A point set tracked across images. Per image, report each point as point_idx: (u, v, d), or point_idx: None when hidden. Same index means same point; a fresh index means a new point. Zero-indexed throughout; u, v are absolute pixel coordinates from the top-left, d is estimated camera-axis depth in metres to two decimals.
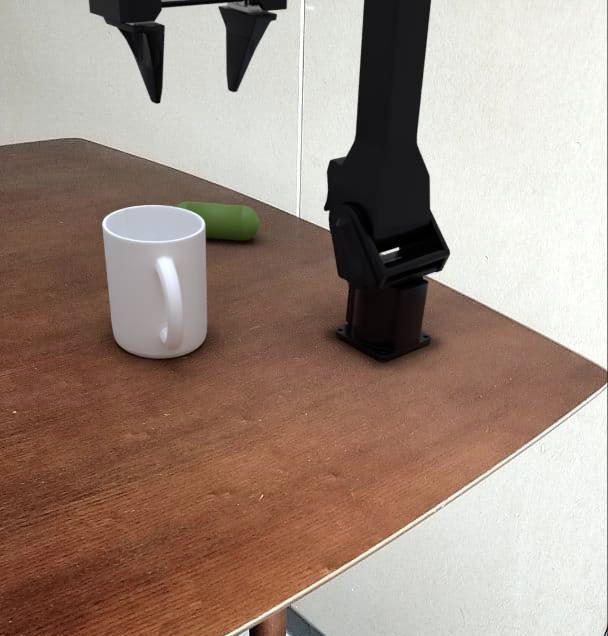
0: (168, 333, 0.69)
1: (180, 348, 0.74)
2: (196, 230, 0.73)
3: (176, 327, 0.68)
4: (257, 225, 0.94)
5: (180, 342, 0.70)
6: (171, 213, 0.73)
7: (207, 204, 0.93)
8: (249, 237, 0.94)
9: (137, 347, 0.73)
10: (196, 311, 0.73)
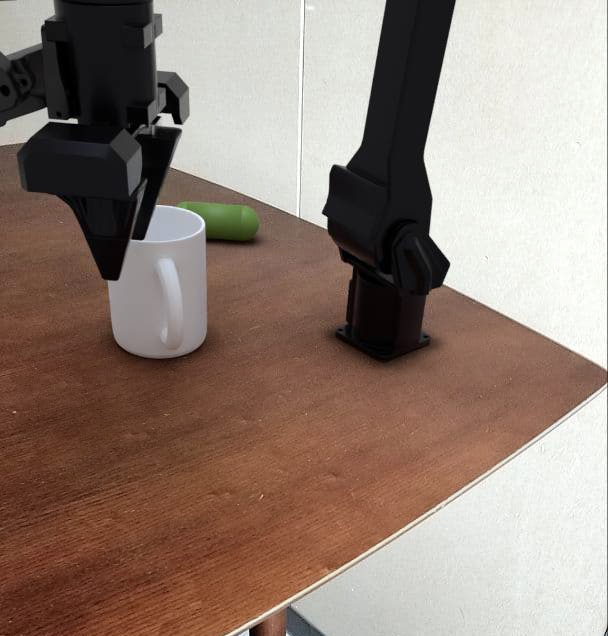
0: (168, 333, 0.69)
1: (180, 348, 0.74)
2: (196, 230, 0.73)
3: (176, 327, 0.68)
4: (257, 225, 0.94)
5: (180, 342, 0.70)
6: (171, 213, 0.73)
7: (207, 204, 0.93)
8: (249, 237, 0.94)
9: (137, 347, 0.73)
10: (196, 311, 0.73)
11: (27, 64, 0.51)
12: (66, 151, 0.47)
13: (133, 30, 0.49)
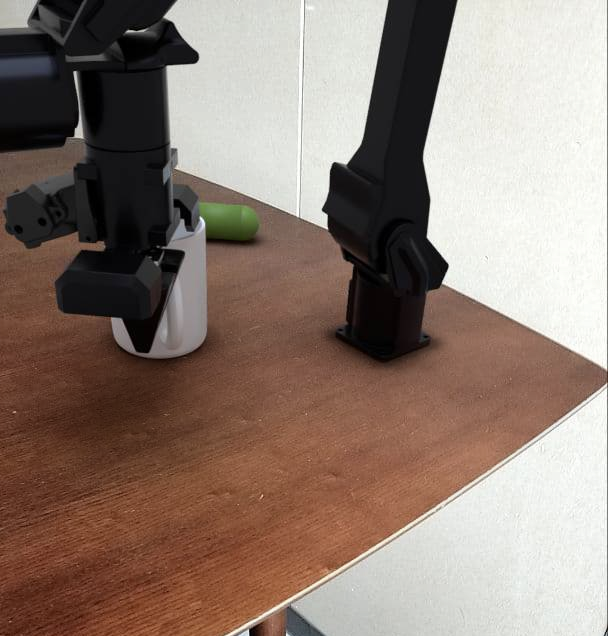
0: (168, 333, 0.69)
1: (180, 348, 0.74)
2: (196, 230, 0.73)
3: (176, 327, 0.68)
4: (257, 225, 0.94)
5: (180, 342, 0.70)
6: None
7: (207, 204, 0.93)
8: (249, 237, 0.94)
9: None
10: (196, 311, 0.73)
11: (61, 197, 0.58)
12: (98, 281, 0.54)
13: (154, 171, 0.56)
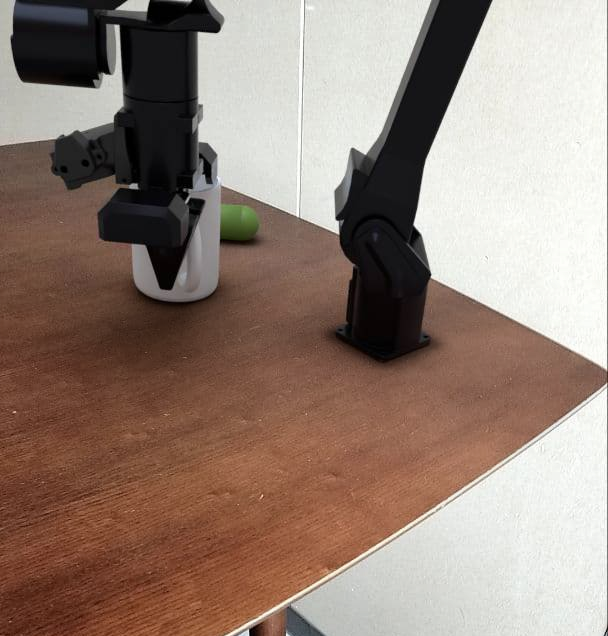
0: (187, 275, 0.77)
1: (195, 293, 0.82)
2: (212, 187, 0.81)
3: (195, 269, 0.76)
4: (257, 225, 0.94)
5: (197, 284, 0.78)
6: None
7: None
8: (249, 237, 0.94)
9: (157, 290, 0.81)
10: (210, 259, 0.81)
11: (101, 143, 0.66)
12: (136, 212, 0.63)
13: (184, 120, 0.65)
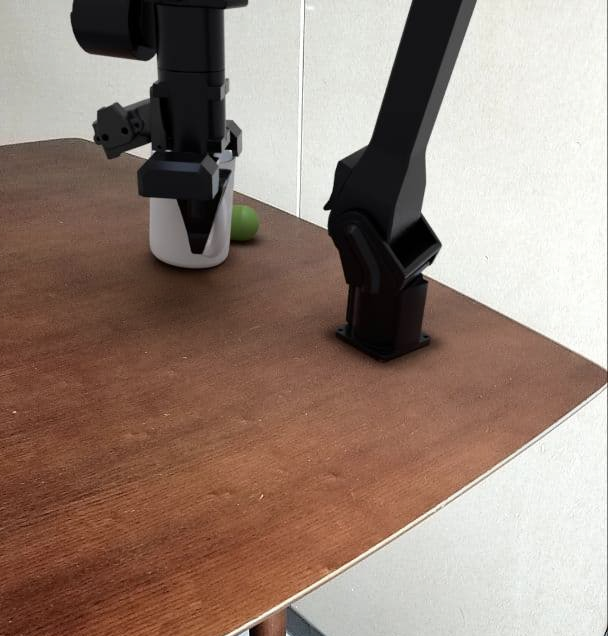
0: (213, 241, 0.83)
1: (213, 259, 0.88)
2: (223, 160, 0.87)
3: (221, 235, 0.83)
4: (257, 225, 0.94)
5: (222, 249, 0.84)
6: None
7: None
8: (249, 237, 0.94)
9: (177, 257, 0.87)
10: (226, 227, 0.87)
11: (138, 113, 0.73)
12: (172, 168, 0.69)
13: (213, 89, 0.72)
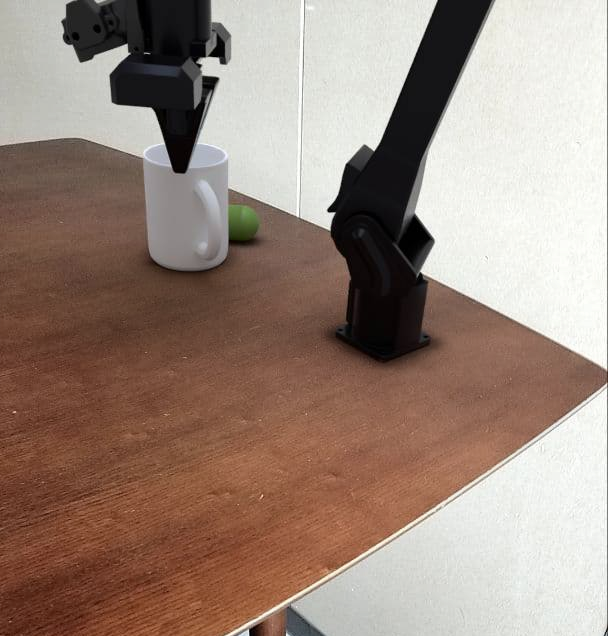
0: (209, 244, 0.83)
1: (211, 261, 0.88)
2: (216, 160, 0.87)
3: (216, 238, 0.83)
4: (257, 225, 0.94)
5: (218, 251, 0.84)
6: None
7: None
8: (249, 237, 0.94)
9: (176, 262, 0.87)
10: (223, 228, 0.87)
11: (113, 9, 0.65)
12: (148, 72, 0.62)
13: None
